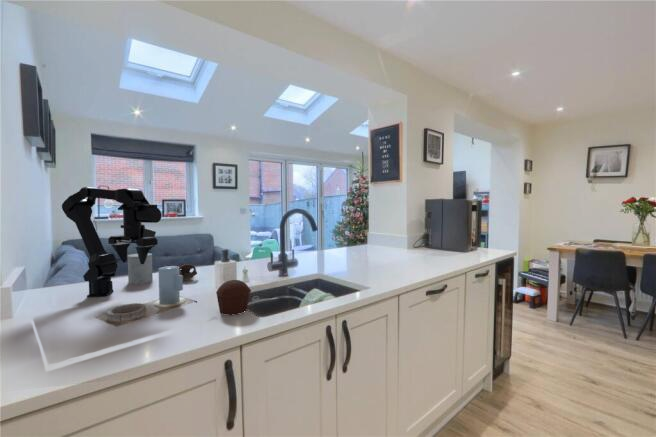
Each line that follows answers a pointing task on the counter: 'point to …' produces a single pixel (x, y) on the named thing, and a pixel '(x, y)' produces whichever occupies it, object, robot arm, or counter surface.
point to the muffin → (233, 297)
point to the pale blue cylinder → (170, 285)
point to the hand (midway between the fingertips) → (133, 263)
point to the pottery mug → (187, 271)
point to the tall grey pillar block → (139, 269)
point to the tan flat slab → (138, 311)
